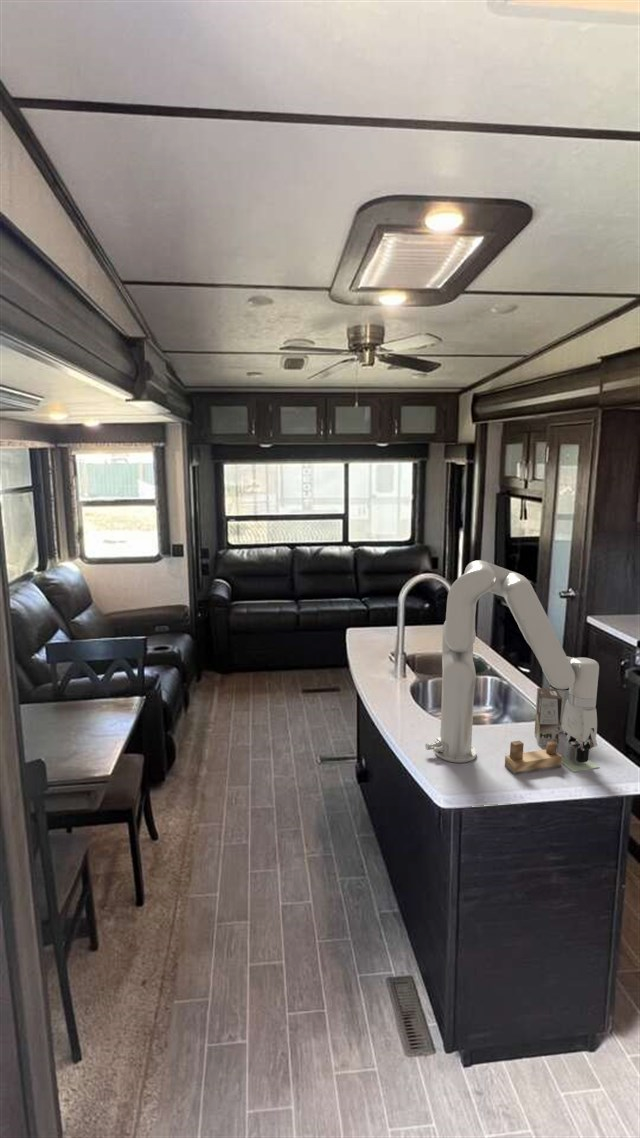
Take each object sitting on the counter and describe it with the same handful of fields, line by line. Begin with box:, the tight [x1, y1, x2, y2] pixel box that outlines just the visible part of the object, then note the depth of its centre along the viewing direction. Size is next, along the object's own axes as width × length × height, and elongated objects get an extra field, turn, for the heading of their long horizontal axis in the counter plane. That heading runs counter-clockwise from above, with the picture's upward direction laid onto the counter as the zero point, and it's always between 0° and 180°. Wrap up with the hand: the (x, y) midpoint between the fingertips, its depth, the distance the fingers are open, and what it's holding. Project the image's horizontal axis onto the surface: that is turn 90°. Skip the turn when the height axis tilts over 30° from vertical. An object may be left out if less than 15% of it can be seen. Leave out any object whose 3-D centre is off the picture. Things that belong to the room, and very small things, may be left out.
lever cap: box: [565, 740, 591, 762], centre depth 181 cm, size 5×4×6 cm
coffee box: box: [534, 687, 562, 747], centre depth 196 cm, size 9×6×16 cm
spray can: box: [549, 683, 569, 734], centre depth 203 cm, size 7×7×20 cm
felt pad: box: [562, 756, 600, 773], centre depth 182 cm, size 9×8×1 cm
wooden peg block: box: [504, 740, 563, 776], centre depth 179 cm, size 16×5×8 cm, turn 107°
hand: (577, 757), depth 181 cm, fingers closed on lever cap, 4 cm apart
